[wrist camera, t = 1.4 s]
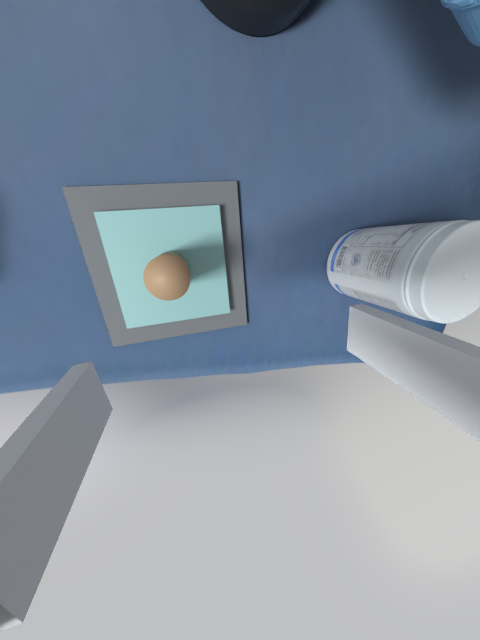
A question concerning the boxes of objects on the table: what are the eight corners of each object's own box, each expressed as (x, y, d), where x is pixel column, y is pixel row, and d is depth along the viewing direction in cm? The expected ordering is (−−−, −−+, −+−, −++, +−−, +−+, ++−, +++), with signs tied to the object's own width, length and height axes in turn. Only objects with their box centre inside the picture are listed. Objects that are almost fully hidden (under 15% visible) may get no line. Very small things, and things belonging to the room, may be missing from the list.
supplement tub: (384, 273, 35) (508, 294, 22) (334, 304, 35) (429, 345, 22) (370, 214, 31) (511, 195, 18) (314, 249, 31) (414, 256, 18)
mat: (64, 188, 22) (61, 187, 22) (235, 181, 26) (236, 180, 25) (114, 345, 29) (113, 346, 28) (246, 323, 32) (247, 324, 32)
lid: (97, 213, 23) (58, 200, 16) (217, 206, 26) (231, 192, 19) (128, 325, 28) (109, 356, 21) (228, 310, 31) (243, 332, 23)
